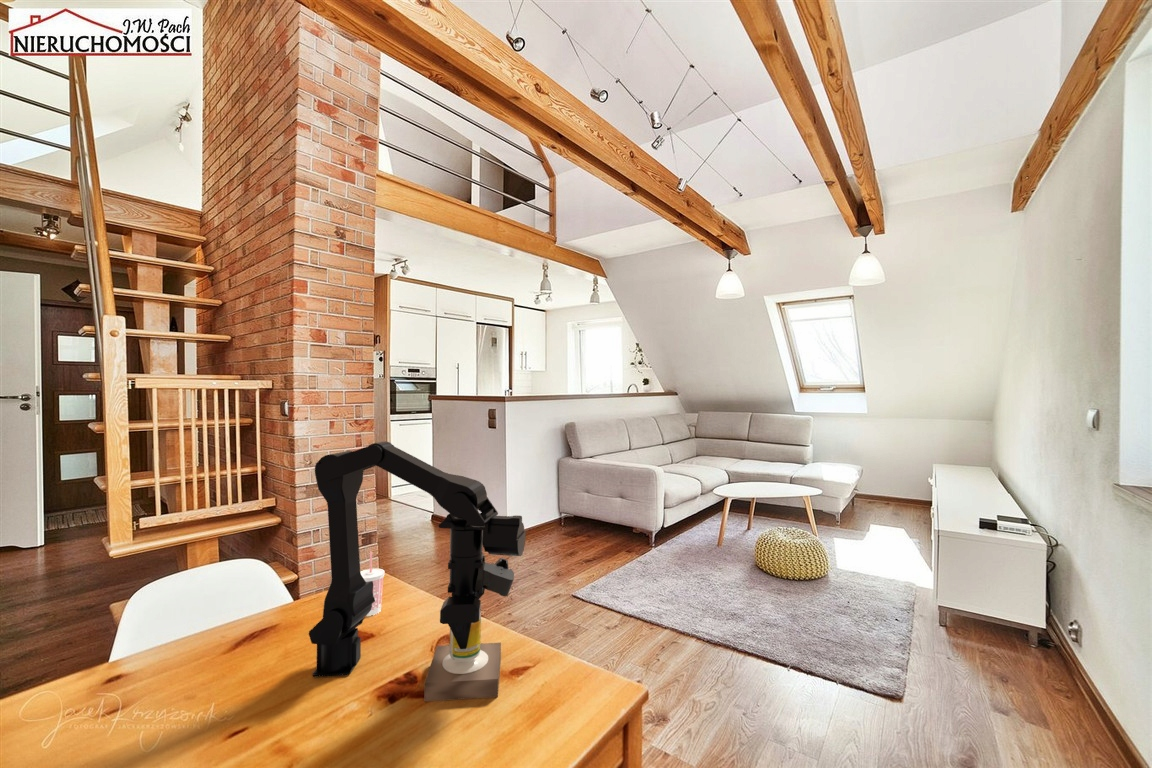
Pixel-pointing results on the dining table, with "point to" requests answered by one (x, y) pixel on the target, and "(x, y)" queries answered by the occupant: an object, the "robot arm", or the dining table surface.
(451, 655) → the supplement bottle
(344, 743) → the dining table surface
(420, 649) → the dining table surface
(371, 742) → the dining table surface
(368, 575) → the beverage cup
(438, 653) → the brown flat square block
